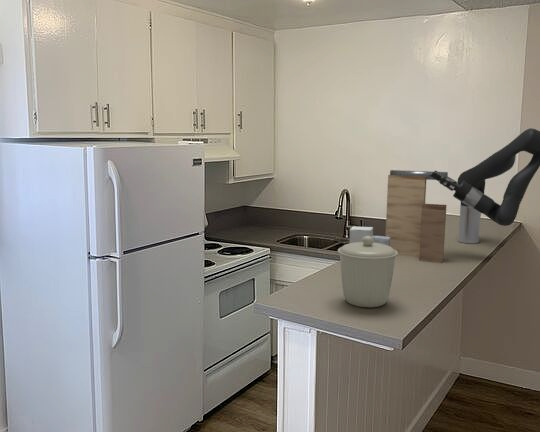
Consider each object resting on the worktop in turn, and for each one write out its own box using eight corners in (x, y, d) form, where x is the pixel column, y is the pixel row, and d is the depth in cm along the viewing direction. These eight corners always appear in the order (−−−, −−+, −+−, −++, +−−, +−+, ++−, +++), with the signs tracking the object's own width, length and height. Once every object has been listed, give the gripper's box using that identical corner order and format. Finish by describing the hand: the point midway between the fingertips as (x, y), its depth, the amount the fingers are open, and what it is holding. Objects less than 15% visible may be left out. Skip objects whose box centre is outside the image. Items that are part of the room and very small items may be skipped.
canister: (403, 311, 165) (406, 242, 162) (343, 313, 164) (345, 242, 160) (385, 293, 183) (388, 230, 179) (331, 294, 181) (333, 230, 178)
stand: (387, 250, 245) (390, 173, 240) (422, 252, 240) (426, 175, 235) (384, 253, 239) (388, 175, 233) (420, 256, 234) (425, 176, 228)
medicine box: (390, 257, 232) (390, 236, 231) (387, 259, 228) (388, 238, 227) (371, 255, 235) (372, 235, 234) (368, 257, 231) (369, 237, 230)
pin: (391, 177, 238) (391, 169, 238) (447, 180, 230) (447, 171, 230) (389, 178, 235) (390, 170, 234) (446, 180, 227) (447, 172, 227)
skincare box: (372, 266, 217) (374, 226, 215) (370, 270, 211) (371, 230, 209) (351, 264, 220) (352, 225, 217) (348, 268, 214) (349, 228, 211)
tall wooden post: (420, 256, 233) (423, 203, 229) (443, 258, 230) (446, 204, 226) (419, 260, 227) (421, 205, 223) (442, 262, 224) (445, 207, 220)
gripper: (473, 185, 232) (439, 164, 236) (473, 188, 219) (436, 166, 222) (463, 200, 234) (429, 179, 238) (462, 204, 221) (426, 182, 225)
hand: (432, 173), depth 230 cm, fingers open, 7 cm apart
